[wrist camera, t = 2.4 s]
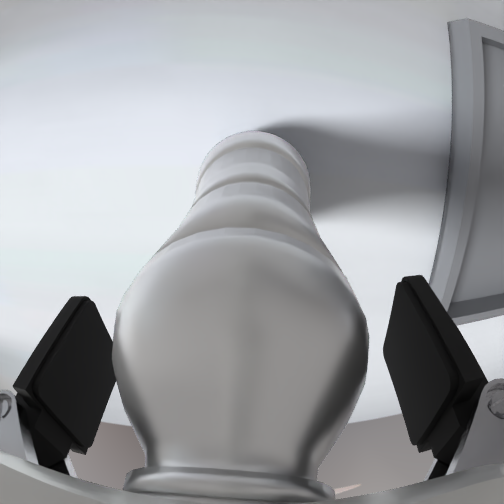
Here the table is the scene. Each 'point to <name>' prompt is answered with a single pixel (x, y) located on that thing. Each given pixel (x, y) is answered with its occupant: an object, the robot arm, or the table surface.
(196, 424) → the plastic bottle
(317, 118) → the table surface
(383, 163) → the table surface
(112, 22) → the table surface
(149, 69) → the table surface
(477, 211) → the grey rectangular tray
